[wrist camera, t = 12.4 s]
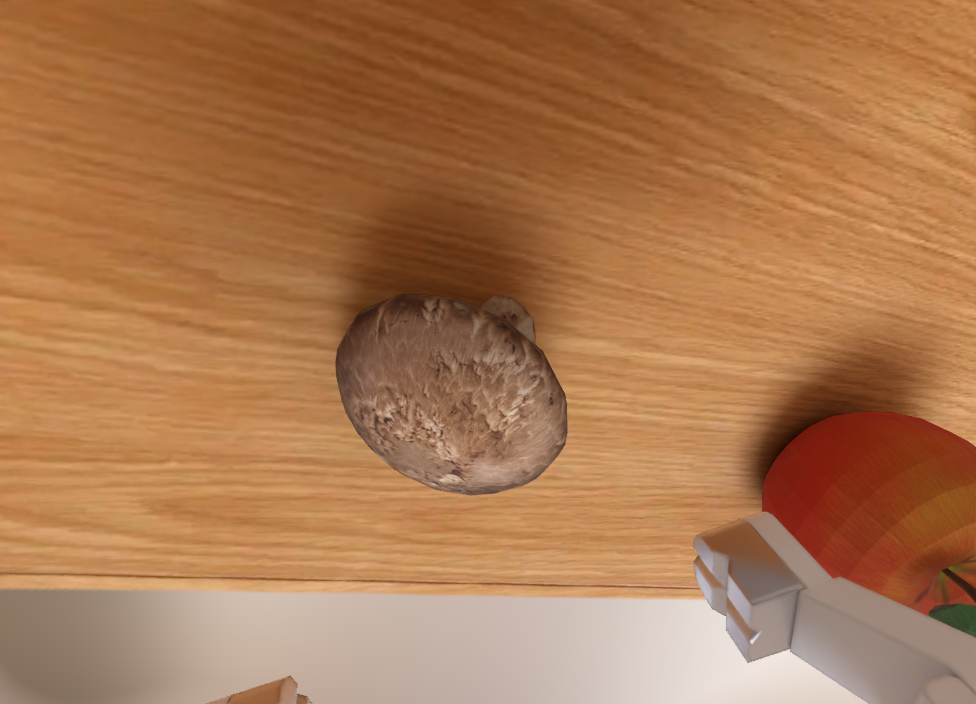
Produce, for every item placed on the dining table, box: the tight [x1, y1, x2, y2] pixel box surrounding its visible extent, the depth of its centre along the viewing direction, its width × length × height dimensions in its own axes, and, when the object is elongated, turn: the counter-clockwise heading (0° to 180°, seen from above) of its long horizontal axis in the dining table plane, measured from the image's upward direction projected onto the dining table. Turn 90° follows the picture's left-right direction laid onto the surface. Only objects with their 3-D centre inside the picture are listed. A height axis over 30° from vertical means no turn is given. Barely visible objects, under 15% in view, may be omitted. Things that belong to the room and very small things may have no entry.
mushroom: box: [336, 294, 567, 495], centre depth 18 cm, size 8×8×6 cm
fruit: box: [762, 411, 976, 638], centre depth 23 cm, size 10×10×10 cm
